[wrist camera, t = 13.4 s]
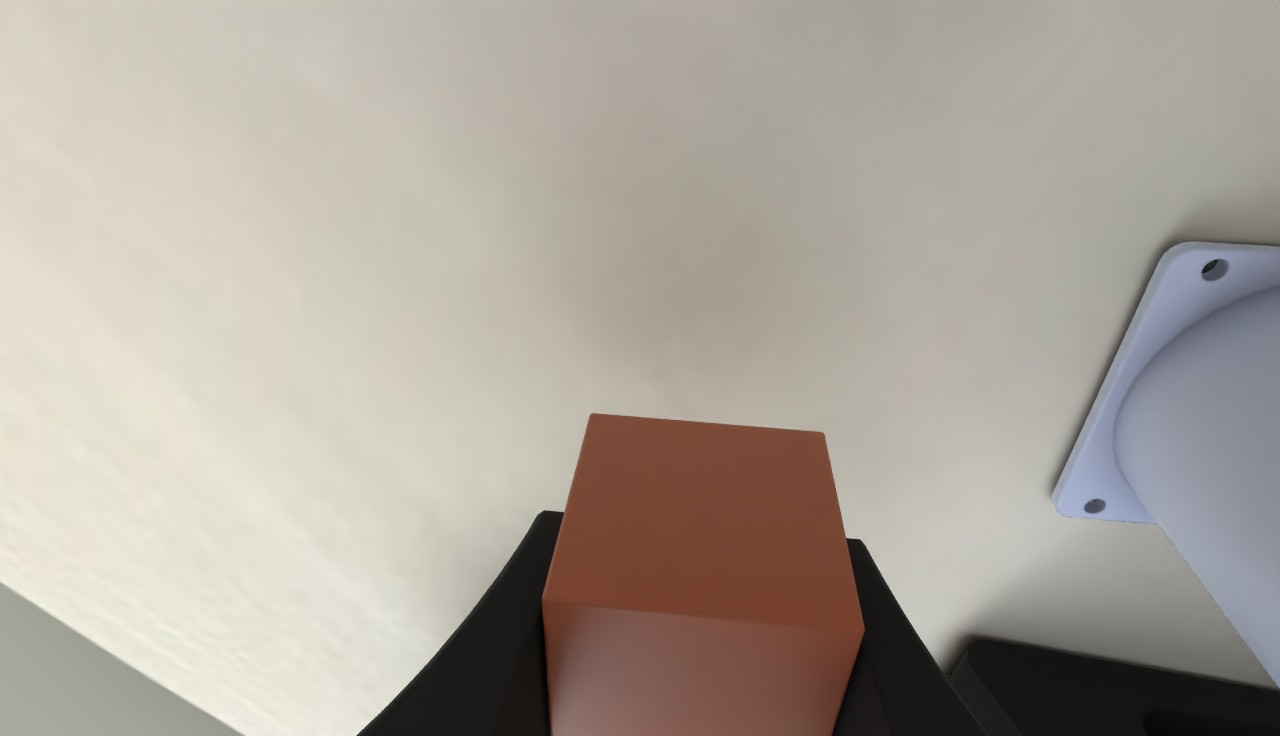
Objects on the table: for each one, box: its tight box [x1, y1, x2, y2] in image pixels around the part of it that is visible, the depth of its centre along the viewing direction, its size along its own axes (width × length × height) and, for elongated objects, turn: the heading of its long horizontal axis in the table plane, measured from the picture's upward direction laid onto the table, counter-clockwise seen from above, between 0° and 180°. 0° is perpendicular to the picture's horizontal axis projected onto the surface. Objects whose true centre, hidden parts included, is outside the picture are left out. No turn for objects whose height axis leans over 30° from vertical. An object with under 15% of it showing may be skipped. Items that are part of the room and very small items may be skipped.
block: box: [542, 413, 865, 736], centre depth 11 cm, size 4×4×4 cm
